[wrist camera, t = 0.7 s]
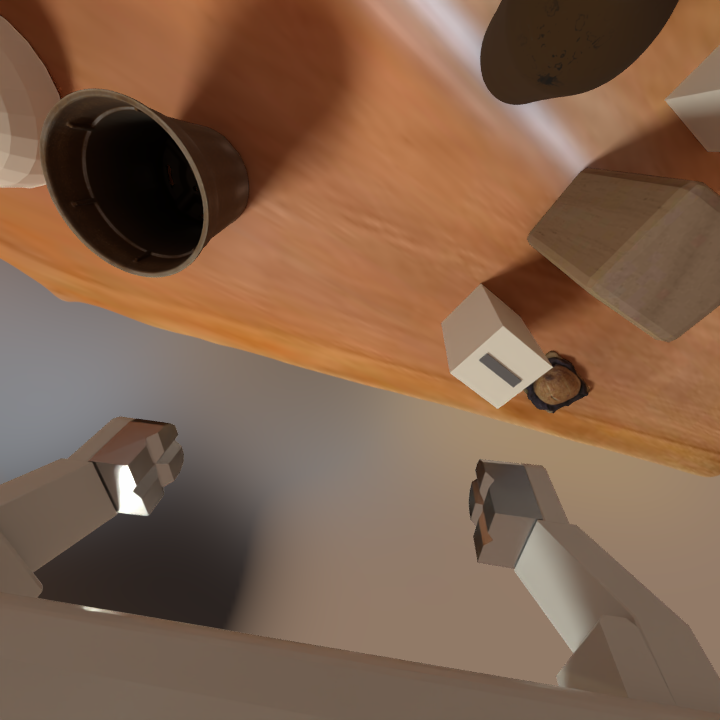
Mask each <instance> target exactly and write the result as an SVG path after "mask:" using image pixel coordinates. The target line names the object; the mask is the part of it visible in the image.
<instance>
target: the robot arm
mask: <svg viewBox="0 0 720 720" xmlns="http://www.w3.org/2000/svg"><path fill="white" fill-rule="evenodd" d="M177 436H178V433H177V430H176V427H175V425H173V424H170V423H164V422H157V421H150V420H143V419H133V418H126V417H117V418H114V419H112V420H111V421H110V422H109V423H108V424H107V425H105V426H104V427H103V428H102V429H101V430H100V431H98V432H97V433H96V434H95V435H94V436H93V437H92V438H91V439H89V440H88V441H87V442H86V443H85V444H84V445H83V446H82V447H81V448H79V449H78V450H77V451H76V452H75V453H74V454H72V455H71V456H70V457H69V458H68V459H59V460H57V461H55V462H52V463H50V464H48V465H45V466H43V467H41V468H38V469H36V470H34V471H31V472H29V473H27V474H25V475H22V476H20V477H17V478H15V479H13V480H11V481H8V482H6V483H3V484H1V485H0V720H720V678H719V677H718V675H717V673H716V671H715V670H714V668H713V666H712V665H711V663H710V661H709V659H708V658H707V656H706V654H705V652H704V651H703V649H702V647H701V646H700V644H699V642H698V640H697V639H696V637H695V635H694V634H693V632H692V630H691V628H690V627H689V625H687V624H686V623H685V622H684V621H683V620H682V619H681V618H680V617H679V616H677V615H676V614H675V613H674V612H673V611H672V610H671V609H670V608H668V607H667V606H666V605H665V604H664V603H663V602H662V601H661V600H660V599H658V598H657V597H656V596H655V595H654V594H653V593H652V592H651V591H650V590H648V589H647V588H646V587H645V586H644V585H643V584H642V583H641V582H639V581H638V580H637V579H636V578H635V577H634V576H633V575H632V574H630V573H629V572H628V571H627V570H626V569H625V568H624V567H623V566H622V565H620V564H619V563H618V562H617V561H616V560H615V559H614V558H613V557H611V556H610V555H609V554H608V553H607V552H606V551H605V550H604V549H603V548H601V547H600V546H599V545H598V544H597V543H596V542H595V541H594V540H593V539H591V538H590V537H589V536H588V535H587V534H586V533H585V532H583V531H582V530H581V529H580V528H579V527H578V526H577V525H573V524H569V522H568V519H567V517H566V515H565V512H564V510H563V508H562V505H561V503H560V501H559V499H558V496H557V494H556V492H555V489H554V487H553V485H552V482H551V480H550V478H549V475H548V473H547V471H546V469H545V468H544V467H543V466H541V465H531V464H519V463H511V462H502V461H493V460H483V459H480V460H479V461H478V463H477V466H476V469H475V471H476V476H477V479H476V480H474V481H473V482H472V484H471V488H470V493H469V512H470V519H471V521H472V522H473V523H474V524H475V525H476V529H475V532H474V536H473V538H474V544H475V550H476V555H477V562H478V563H483V564H489V565H495V566H502V567H507V568H513V569H515V570H514V571H515V572H516V574H517V575H518V577H519V578H520V579H521V581H522V582H523V584H524V585H525V586H526V588H527V589H528V591H529V592H530V593H531V595H532V596H533V598H534V599H535V600H536V602H537V603H538V605H539V606H540V607H541V609H542V610H543V611H544V613H545V614H546V616H547V617H548V618H549V620H550V621H551V623H552V624H553V625H554V627H555V628H556V629H557V631H558V632H559V634H560V635H561V636H562V638H563V639H564V640H565V642H566V644H567V645H568V646H569V648H570V649H571V650H572V652H573V655H572V656H571V657H570V659H569V660H568V661H567V663H566V664H565V666H564V667H563V668H562V669H561V671H560V672H559V673H558V675H557V676H556V677H557V681H558V685H559V686H555V685H549V684H542V683H537V682H531V681H525V680H519V679H513V678H507V677H501V676H495V675H489V674H483V673H477V672H472V671H465V670H459V669H454V668H448V667H442V666H436V665H430V664H423V663H418V662H412V661H406V660H401V659H394V658H389V657H383V656H377V655H371V654H365V653H359V652H353V651H347V650H341V649H335V648H329V647H323V646H317V645H312V644H306V643H299V642H294V641H288V640H282V639H276V638H270V637H264V636H259V635H252V634H246V633H240V632H235V631H228V630H223V629H217V628H211V627H205V626H199V625H193V624H188V623H182V622H176V621H170V620H164V619H157V618H152V617H146V616H140V615H134V614H128V613H122V612H116V611H110V610H104V609H98V608H92V607H87V606H80V605H75V604H69V603H63V602H57V601H51V600H44V599H39V598H37V597H38V596H39V595H40V593H41V592H42V584H41V583H40V581H39V580H38V579H37V577H36V576H35V575H34V574H33V572H34V571H36V570H37V569H39V568H40V567H41V566H43V565H44V564H46V563H47V562H49V561H50V560H52V559H53V558H55V557H56V556H58V555H59V554H60V553H62V552H63V551H65V550H66V549H68V548H69V547H71V546H72V545H73V544H75V543H76V542H77V541H79V540H81V539H82V538H84V537H85V536H86V535H88V534H89V533H91V532H92V531H94V530H95V529H97V528H98V527H99V526H101V525H102V524H103V523H105V522H106V521H108V520H110V519H111V518H112V517H114V516H115V515H116V514H117V512H118V513H127V514H137V515H146V516H149V514H150V513H151V512H152V510H153V509H154V508H155V506H156V505H157V504H158V502H159V501H160V499H161V498H162V496H163V495H164V486H166V485H168V484H169V483H171V482H173V481H174V480H175V479H176V477H177V476H178V474H179V473H180V471H181V468H182V465H183V461H184V453H183V449H182V447H181V445H179V443H177V442H176V441H175V439H176V437H177Z"/></svg>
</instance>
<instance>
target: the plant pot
mask: <svg viewBox="0 0 720 720" xmlns="http://www.w3.org/2000/svg"><path fill="white" fill-rule="evenodd" d="M40 162H41V168H42V172H43V175H44V179H45V182H46V185H47V188H48V191H49V193H50V196H51V198H52V200H53V202H54V204H55V206H56V208H57V210H58V212H59V213H60V215H61V216H62V218H63V219H64V221H65V222H66V224H67V225H68V226H69V228H70V229H71V230H72V232H73V233H74V234H75V235H76V236H77V237H78V238H79V239H80V241H81V242H82V243H84V244H85V245H86V246H87V247H88V248H89V249H90V250H91V251H92V252H93V253H95V254H96V255H97V256H99V257H100V258H102V259H103V260H104V261H106V262H108V263H109V264H111V265H113V266H114V267H117V268H119V269H121V270H123V271H125V272H128V273H131V274H134V275H139V276H144V277H164V276H169V275H172V274H175V273H178V272H180V271H182V270H183V269H185V268H186V267H187V266H189V265H190V264H191V263H192V262H193V261H194V260H195V259H196V258H197V257H198V255H199V254H200V252H201V251H202V249H203V248H204V247H205V246H206V245H207V243H208V242H209V241H210V239H211V238H212V237H214V236H215V235H216V234H218V233H219V232H220V231H222V230H223V229H224V228H226V227H227V226H228V225H229V224H231V223H233V222H234V221H235V220H236V219H237V218H238V217H239V216H240V215H241V213H242V212H243V211H244V209H245V207H246V204H247V200H248V194H249V183H248V176H247V172H246V168H245V165H244V163H243V161H242V159H241V157H240V155H239V153H238V152H237V151H236V150H235V149H234V148H233V147H232V145H231V144H230V143H229V142H228V141H227V139H226V138H225V137H224V136H222V135H221V134H220V133H218V132H216V131H215V130H213V129H211V128H208V127H205V126H201V125H197V124H193V123H188V122H185V121H181V120H178V119H174V118H170V117H167V116H165V115H163V114H161V113H159V112H157V111H155V110H153V109H151V108H148V107H147V106H145V105H144V104H142V103H140V102H139V101H137V100H135V99H133V98H131V97H128V96H126V95H123V94H120V93H117V92H114V91H110V90H104V89H84V90H79V91H76V92H73V93H71V94H69V95H67V96H65V97H64V98H62V99H61V100H60V101H58V102H57V103H56V104H55V105H54V107H53V108H52V109H51V110H50V112H49V113H48V115H47V117H46V119H45V121H44V124H43V127H42V131H41V136H40ZM167 165H169V166H170V168H171V176H172V179H173V182H174V185H173V186H171V184H170V182H169V178H168V172H167ZM190 166H191V168H192V170H193V171H192V170H191V169H190ZM193 186H196V187H197V190H198V191H194V190H193ZM201 214H204V218H202V217H201Z"/></svg>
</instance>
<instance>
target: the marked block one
mask: <svg viewBox="0 0 720 720" xmlns="http://www.w3.org/2000/svg"><path fill="white" fill-rule="evenodd" d="M441 325H442V330H443V336H444V342H445V347H446V353H447V359H448V364H449V370H450V373H451V374H452V375H453V376H455V377H456V378H457V379H459V380H460V381H461V382H463V383H464V384H465V385H467V386H468V387H469V388H471V389H472V390H473V391H475V392H476V393H477V394H479V395H480V396H481V397H483V398H484V399H485V400H487V401H488V402H489V403H491V404H492V405H493V406H495V407H496V408H497V409H498V408H500V407H501V406H502V405H504V404H505V403H506V402H508V401H509V400H510V399H512V398H513V397H514V396H516V395H517V394H518V393H520V392H521V391H522V390H524V389H525V388H526V387H528V386H529V385H530V384H532V383H533V382H534V381H535V380H537V379H538V378H539V377H541V376H542V375H543V374H545V373H546V372H547V371H549V370H550V369H551V368H553V367H552V365H551V364H550V362H549V360H548V359H547V357H546V356H545V354H544V353H543V351H542V350H541V348H540V347H539V345H538V343H537V342H536V340H535V339H534V337H533V336H532V334H531V333H530V331H529V329H528V328H527V326H526V325H525V323H524V322H523V320H522V319H521V317H520V316H519V315H518V314H516V313H515V312H514V311H513V310H512V309H511V308H509V307H508V306H507V305H506V304H505V303H504V302H502V301H501V300H500V299H499V298H498V297H496V296H495V295H494V294H493V293H492V292H491V291H489V290H488V289H487V288H486V287H485V286H484V285H482V284H480V285H479V286H478V287H477V288H476V289H475V290H474V291H473V292H472V293H471V294H470V295H469V296H468V297H467V298H466V299H465V300H464V301H463V302H462V303H461V304H460V305H459V306H458V307H457V308H456V309H455V310H454V311H453V312H452V313H451V314H450V315H449V316H448V317H447V318H446V319H445V320H444V321H443V322H442V323H441Z"/></svg>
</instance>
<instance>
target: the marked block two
mask: <svg viewBox="0 0 720 720" xmlns="http://www.w3.org/2000/svg"><path fill="white" fill-rule="evenodd" d="M665 101H666V102H667V103H668V105H669V106H670V107H671V108H672V109H673V111H674V112H675V113H676V114H677V115H678V117H679V118H680V119H681V120H682V121H683V123H684V124H685V125H686V126H687V128H688V129H689V130H690V131H691V132H692V134H693V135H694V136H695V137H696V138H697V140H698V141H699V142H700V143H701V144H702V146H703V147H704V148H705V149H706V150H707V152H720V45H719V46H718V47H717V48H716V49H715V50H714V51H713V52H712V53H711V54H710V55H709V56H708V57H707V58H706V59H705V60H704V61H703V62H702V63H701V64H700V65H699V66H698V67H697V68H696V69H695V70H694V71H693V72H692V73H691V74H690V75H689V76H688V77H687V78H686V79H685V80H684V81H683V82H682V83H681V84H680V85H679V86H678V87H677V88H676V89H675V90H674V91H673V92H672V93H671V94H670V95H669V96H668V97H667V98H666V99H665Z"/></svg>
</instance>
